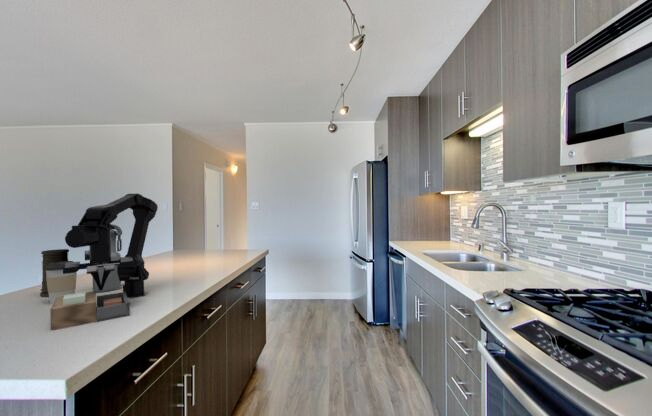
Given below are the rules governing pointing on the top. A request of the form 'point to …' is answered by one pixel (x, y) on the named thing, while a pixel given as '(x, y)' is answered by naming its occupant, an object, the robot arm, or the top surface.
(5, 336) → the top surface
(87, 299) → the block
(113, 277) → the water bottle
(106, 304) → the terracotta tile
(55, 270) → the coffee cup
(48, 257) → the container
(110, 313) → the box
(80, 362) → the top surface
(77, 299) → the sage tile
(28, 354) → the top surface
